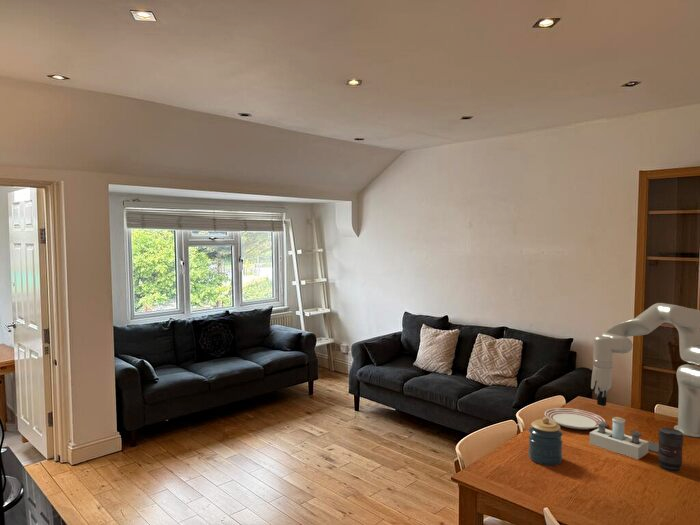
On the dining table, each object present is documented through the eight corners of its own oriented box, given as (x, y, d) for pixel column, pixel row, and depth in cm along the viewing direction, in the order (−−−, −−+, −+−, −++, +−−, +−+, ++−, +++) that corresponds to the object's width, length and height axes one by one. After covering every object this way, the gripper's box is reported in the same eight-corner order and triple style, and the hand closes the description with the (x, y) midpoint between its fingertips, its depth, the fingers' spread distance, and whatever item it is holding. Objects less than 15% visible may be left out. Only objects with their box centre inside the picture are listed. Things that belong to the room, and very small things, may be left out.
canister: (562, 455, 204) (563, 414, 203) (562, 468, 192) (562, 425, 191) (529, 450, 209) (530, 410, 209) (527, 462, 198) (527, 420, 197)
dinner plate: (558, 409, 260) (559, 403, 259) (613, 423, 239) (614, 416, 239) (534, 422, 241) (534, 416, 241) (591, 439, 221) (591, 431, 221)
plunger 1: (599, 433, 218) (599, 420, 218) (608, 436, 215) (608, 422, 215) (595, 435, 216) (595, 422, 216) (604, 438, 213) (604, 425, 213)
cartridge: (614, 444, 214) (615, 416, 213) (626, 448, 210) (627, 419, 209) (609, 447, 211) (609, 419, 210) (621, 451, 207) (622, 422, 206)
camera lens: (686, 473, 187) (687, 435, 186) (663, 472, 189) (663, 434, 188) (676, 464, 195) (677, 427, 194) (654, 462, 197) (655, 426, 196)
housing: (589, 443, 215) (589, 432, 215) (600, 437, 221) (600, 427, 221) (637, 459, 199) (638, 447, 199) (648, 452, 205) (648, 441, 205)
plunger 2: (632, 443, 207) (632, 429, 207) (642, 446, 204) (642, 432, 204) (628, 446, 205) (628, 432, 205) (638, 449, 202) (638, 435, 201)
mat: (643, 440, 217) (643, 439, 217) (665, 447, 210) (665, 446, 210) (634, 446, 212) (634, 444, 212) (657, 453, 205) (657, 451, 205)
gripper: (602, 360, 222) (601, 399, 222) (585, 365, 213) (584, 406, 213) (619, 363, 216) (618, 403, 216) (603, 368, 207) (602, 411, 207)
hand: (601, 404), depth 215 cm, fingers closed
